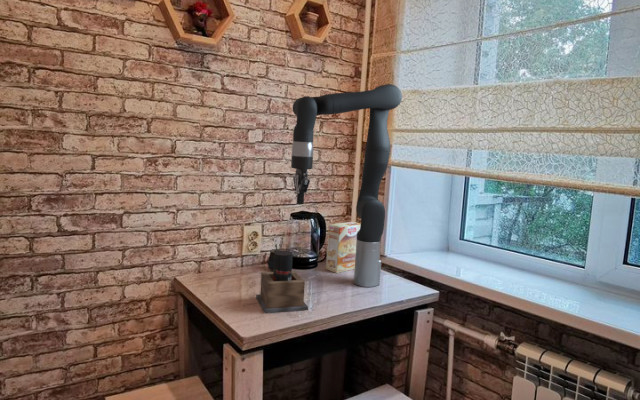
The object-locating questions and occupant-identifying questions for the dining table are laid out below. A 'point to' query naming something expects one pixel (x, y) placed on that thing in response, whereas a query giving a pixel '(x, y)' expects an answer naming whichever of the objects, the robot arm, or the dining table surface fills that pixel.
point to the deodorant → (282, 266)
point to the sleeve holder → (281, 294)
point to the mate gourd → (272, 258)
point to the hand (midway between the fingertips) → (299, 203)
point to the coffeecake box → (342, 246)
